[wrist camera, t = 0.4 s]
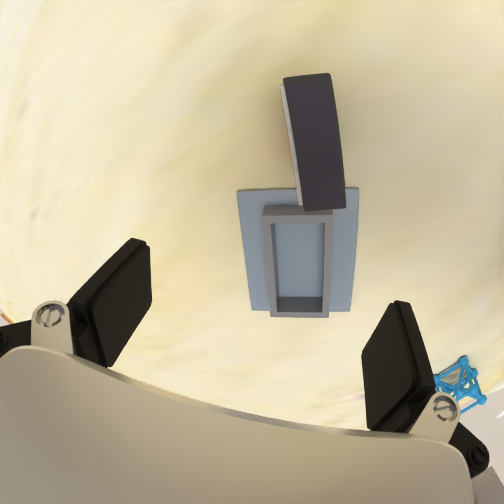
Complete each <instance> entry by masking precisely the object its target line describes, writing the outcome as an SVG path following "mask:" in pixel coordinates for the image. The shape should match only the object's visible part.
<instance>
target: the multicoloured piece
mask: <svg viewBox="0 0 504 504" xmlns="http://www.w3.org/2000/svg"><path fill="white" fill-rule="evenodd" d="M283 83H284V84H280V90H281V96H282V101H283V107H284V113H285V118H286V124H287V129H288V135H289V141H290V148H291V154H292V160H293V167H294V174H295V180H296V187H297V195H298V202H299V205H300V206H302V205H303V209H304V211H305V212H310V211H321V210H333V209H344V208H346V191H345V179H344V168H343V158H342V149H341V141H340V133H339V125H338V118H337V111H336V104H335V98H334V92H333V86H332V80H331V75H330V74H329V73H322V74H311V75H302V76H294V77H286V78H284V79H283Z"/></svg>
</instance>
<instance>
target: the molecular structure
mask: <svg viewBox="0 0 504 504" xmlns="http://www.w3.org/2000/svg"><path fill="white" fill-rule="evenodd" d="M459 366H461V373H460V379H459V382H458V383H456V384H455V385H453V386H452V385H449V384H447V383H444V382H442V381H440V379H441V378H442V377H444V376H446V375H447V374H449V373H450V372H452V371H453V370H455V369H456V368H458V367H459ZM464 369H465V372H466V375H467V377H466V378H464V379H463V373H464ZM468 370H469V371H468ZM477 375H478V372H477V370H476V369H471V368H470V367H469V365H468V358H467V357H461V358H460V360H459V363H458V364H457V365H456V366H454V367H453V368H451V369H449V370H448V371H446V372H445V373H443V374H442V375H440V376H437V375H434V380H435V384H436V387H435V388H436V392H440V391H439V387H438V386H440V387H441V388H442V389H443V392H445V393H448V394H450V393H451V392H454V394H453V395H452V396H453V397H455V396H456V395H457V396H456V401H457V403H458V401H459V400H460V399H462V398H464V397H465V396H469V397H472V398H474V399H477V402H475V403H474V404H472V405H470V406H469V407H467V408H465V409H464V410H462V411H460V412H461V414H462V413H464V412H466V411H467V410H469V409H471V408H472V407H474V406H476V405H477V404H480V405H483V404H484V403H485V402H486V400H487V398H486V396H485V395H482V393H481V390H480V387H479V384H478V381H477V378H476V377H477ZM462 379H463V380H462ZM472 379H474V382H475V384H473V382H472ZM463 382H464V383H463ZM468 382H469V384H470V386H469V388H464V386H465V385H466V384H467V383H468ZM462 383H463V384H462ZM461 385H462V386H461ZM444 386H445V387H444ZM461 394H462V395H461ZM460 395H461V396H460Z"/></svg>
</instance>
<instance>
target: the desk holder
mask: <svg viewBox="0 0 504 504" xmlns="http://www.w3.org/2000/svg"><path fill="white" fill-rule="evenodd" d="M345 191H346V208H344V209H333V210H321V211H310V212H305V211H304V209H303V205H302V206H300V205H299V202H298V195H297V188H285V189H256V190H238V191H237V200H238V208H239V216H240V224H241V231H242V239H243V247H244V255H245V262H246V270H247V278H248V285H249V293H250V300H251V308H252V310H259V311H270V316H271V317H301V318H329V312H343V311H350V306H351V298H352V289H353V280H354V269H355V258H356V245H357V230H358V210H359V189H358V188H345Z"/></svg>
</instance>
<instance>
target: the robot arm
mask: <svg viewBox="0 0 504 504" xmlns="http://www.w3.org/2000/svg"><path fill="white" fill-rule="evenodd" d="M151 303H152V290H151V268H150V247H149V246H147V244H146V242H145V241H143V240H139V239H135V238H131V239H129V240H128V241H127V242H126V243H125V244H124V245H123V246H122V247H121V248H120V249H119V250H118V251H117V252H116V253H115V254H114V255H113V256H112V257H110V258H109V259H108V260H107V261H106V262H105V263H104V264H103V265H102V266H101V267H100V268H99V269H98V270H97V271H96V272H95V273H94V275H93V276H92V277H91V278H90V279H89V280H88V281H87V282H86V283H85V284H84V285H83V286H82V287H81V288H80V289H79V290H78V291H77V292H76V293H75V294H74V295H73V297H72V298H71V299H70V301H69V302H68V303H67V304H66V305H65V304H64V303H62V302H61V301H56V300H55V301H47V302H44V303H42V304H41V305H39V306H38V307H37V308H36V309H35V310H34V312H33V314H32V320H28V321H23V322H19V323H15V324H10V325H6V326H1V327H0V504H504V486H503V484H502V483H501V481H500V479H499V478H498V476H497V474H496V473H495V471H494V469H493V467H492V466H491V467H489V468H488V464H489V452H488V450H487V448H486V446H485V445H484V444H483V443H482V442H481V441H480V440H479V439H478V438H476V437H475V436H474V435H473V434H472V433H471V432H470V431H469V430H468V429H467V428H465V427H464V426H463V425H462V424H461V423H460V422H459V419H460V415H461V412H460V407H459V404H458V403H457V401H456V399H455V398H454V397H453V396H451V395H450V394H448V393H445V392H437V393H436V390H435V387H436V384H435V380H434V376H433V372H432V369H431V365H430V362H429V358H428V355H427V352H426V349H425V345H424V342H423V339H422V336H421V333H420V330H419V327H418V324H417V321H416V318H415V316H414V313H413V310H412V307H411V305H410V303H408V302H403V301H398V300H396V301H394V303H390V304H389V305H388V307H387V309H386V311H385V313H384V315H383V316H382V318H381V320H380V322H379V323H378V325H377V327H376V329H375V330H374V332H373V334H372V336H371V337H370V339H369V341H368V342H367V344H366V346H365V347H364V349H363V351H362V356H361V359H362V369H363V379H364V391H365V404H366V420H367V428H368V429H370V431H364V430H353V429H342V428H332V427H324V426H316V425H309V424H302V423H296V422H290V421H284V420H279V419H273V418H268V417H263V416H258V415H254V414H249V413H245V412H240V411H236V410H232V409H228V408H224V407H220V406H216V405H213V404H209V403H205V402H202V401H198V400H195V399H192V398H188V397H185V396H182V395H179V394H175V393H172V392H169V391H166V390H163V389H160V388H157V387H155V386H152V385H149V384H146V383H144V382H141V381H138V380H136V379H133V378H130V377H128V376H125V375H123V374H120V373H117V372H115V371H112V370H110V369H107V367H112V366H113V364H114V363H115V361H116V359H117V358H118V356H119V355H120V353H121V351H122V350H123V348H124V347H125V345H126V344H127V342H128V340H129V339H130V337H131V336H132V334H133V333H134V331H135V329H136V328H137V326H138V325H139V323H140V322H141V320H142V319H143V317H144V316H145V314H146V313H147V311H148V310H149V308H150V306H151Z"/></svg>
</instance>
